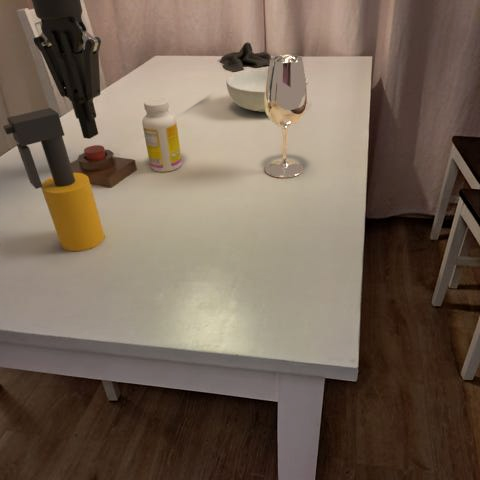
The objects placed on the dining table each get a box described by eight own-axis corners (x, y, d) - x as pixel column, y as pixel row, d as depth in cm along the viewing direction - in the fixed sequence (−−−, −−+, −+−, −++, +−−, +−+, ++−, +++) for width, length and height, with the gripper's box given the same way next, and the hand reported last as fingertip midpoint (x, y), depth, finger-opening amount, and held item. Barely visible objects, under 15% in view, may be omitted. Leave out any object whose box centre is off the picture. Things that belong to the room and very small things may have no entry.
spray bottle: (57, 261, 72) (9, 129, 59) (43, 242, 76) (-5, 115, 63) (111, 241, 76) (77, 113, 62) (94, 224, 80) (59, 101, 67)
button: (81, 160, 93) (79, 151, 91) (94, 152, 95) (92, 144, 94) (98, 162, 91) (95, 153, 90) (110, 155, 94) (108, 146, 93)
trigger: (36, 189, 67) (21, 149, 63) (30, 183, 68) (16, 144, 64) (42, 187, 67) (29, 147, 63) (37, 181, 69) (23, 142, 65)
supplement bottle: (181, 158, 100) (172, 94, 92) (183, 171, 95) (174, 104, 87) (149, 162, 99) (138, 98, 91) (150, 174, 94) (138, 108, 86)
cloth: (221, 56, 169) (220, 37, 165) (272, 54, 168) (272, 35, 164) (215, 72, 153) (213, 51, 149) (272, 70, 151) (272, 49, 147)
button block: (63, 179, 95) (57, 160, 92) (90, 162, 101) (85, 144, 98) (111, 188, 91) (106, 168, 88) (137, 169, 97) (133, 150, 94)
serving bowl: (248, 126, 113) (247, 95, 109) (216, 103, 128) (214, 76, 123) (321, 111, 119) (323, 82, 115) (283, 91, 134) (283, 64, 129)
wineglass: (307, 176, 90) (313, 62, 77) (267, 179, 90) (266, 65, 77) (300, 160, 96) (304, 51, 83) (262, 163, 96) (261, 54, 83)
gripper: (5, -9, 74) (52, 139, 90) (69, -10, 70) (106, 146, 86) (38, -16, 80) (77, 126, 95) (99, -16, 75) (129, 132, 91)
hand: (91, 135), depth 90 cm, fingers closed
